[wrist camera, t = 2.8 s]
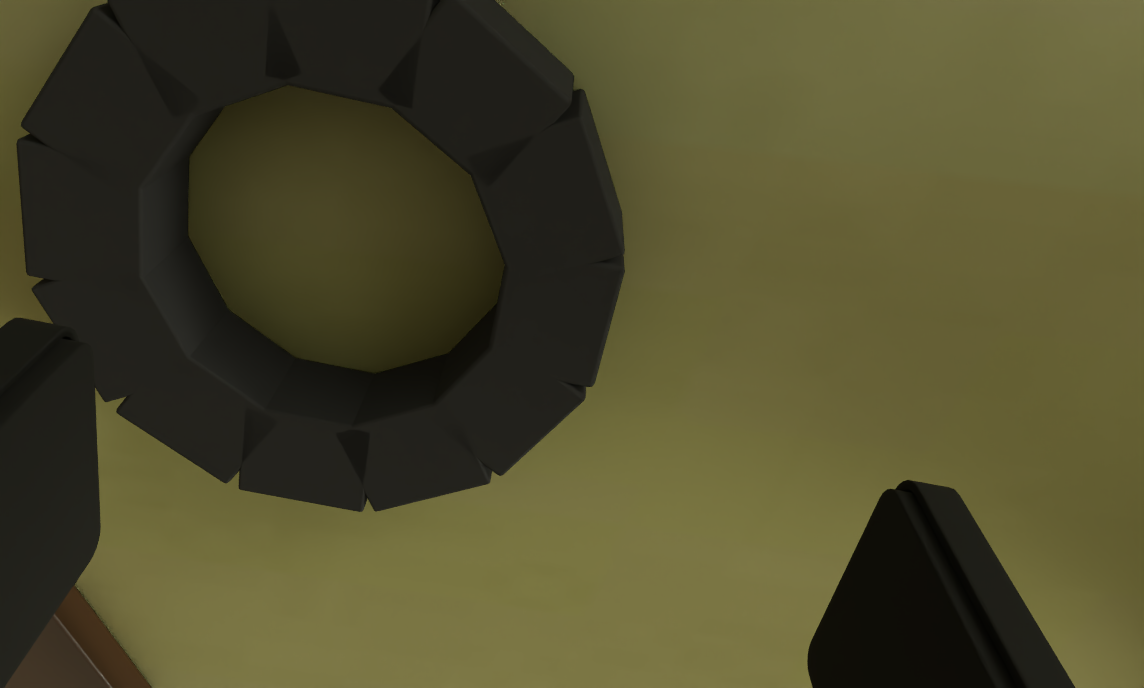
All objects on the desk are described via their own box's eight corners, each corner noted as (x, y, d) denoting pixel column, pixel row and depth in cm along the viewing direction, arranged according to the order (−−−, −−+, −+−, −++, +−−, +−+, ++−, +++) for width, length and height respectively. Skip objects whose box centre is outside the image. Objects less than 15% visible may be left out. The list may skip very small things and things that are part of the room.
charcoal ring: (510, -149, 14) (498, -150, 12) (674, 382, 18) (682, 436, 17) (-32, 50, 16) (-111, 74, 14) (238, 494, 20) (203, 555, 18)
